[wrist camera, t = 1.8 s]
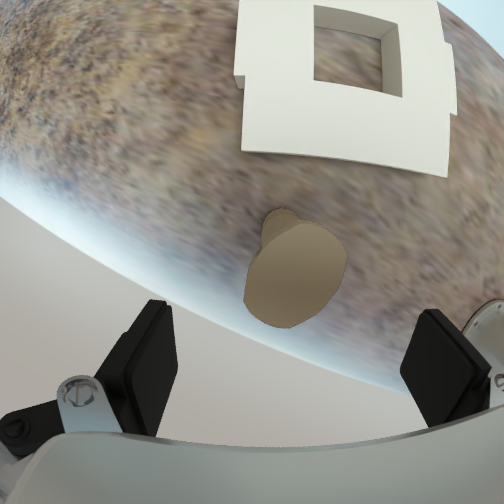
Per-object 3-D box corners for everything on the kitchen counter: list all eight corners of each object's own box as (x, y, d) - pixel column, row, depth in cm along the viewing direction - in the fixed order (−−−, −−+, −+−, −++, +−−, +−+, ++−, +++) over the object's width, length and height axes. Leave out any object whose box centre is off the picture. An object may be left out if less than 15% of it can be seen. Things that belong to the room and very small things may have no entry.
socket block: (429, 175, 27) (454, 179, 23) (235, 151, 28) (229, 149, 23) (423, 13, 20) (442, -1, 16) (246, -21, 21) (244, -44, 16)
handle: (243, 233, 30) (226, 300, 16) (278, 183, 29) (294, 206, 14) (281, 258, 31) (294, 340, 17) (316, 210, 29) (363, 257, 15)
